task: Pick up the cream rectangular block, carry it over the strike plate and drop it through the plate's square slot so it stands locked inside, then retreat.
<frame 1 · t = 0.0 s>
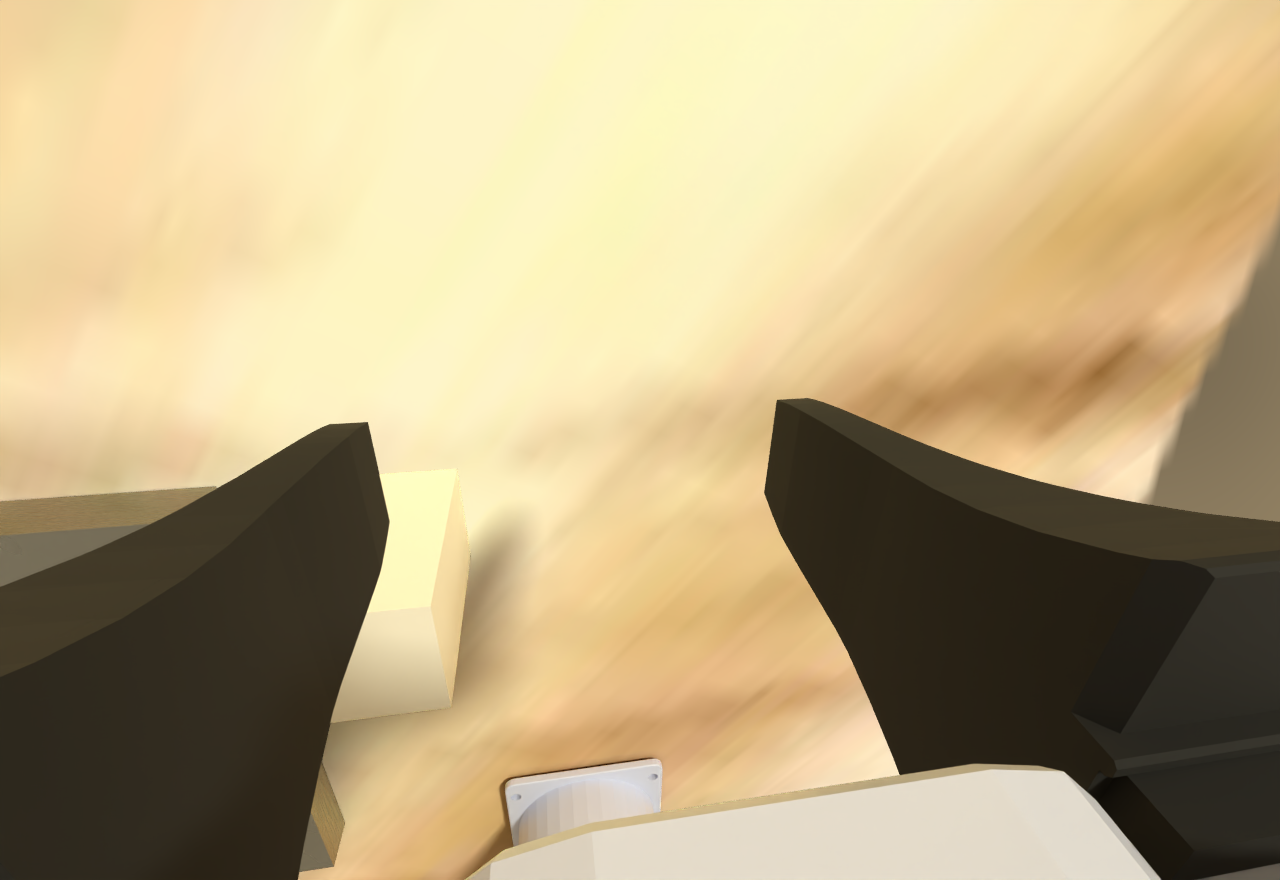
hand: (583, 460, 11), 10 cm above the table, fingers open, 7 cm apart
strike plate: (134, 704, 25), on the table
cream rectangular block: (409, 518, 23), on the table
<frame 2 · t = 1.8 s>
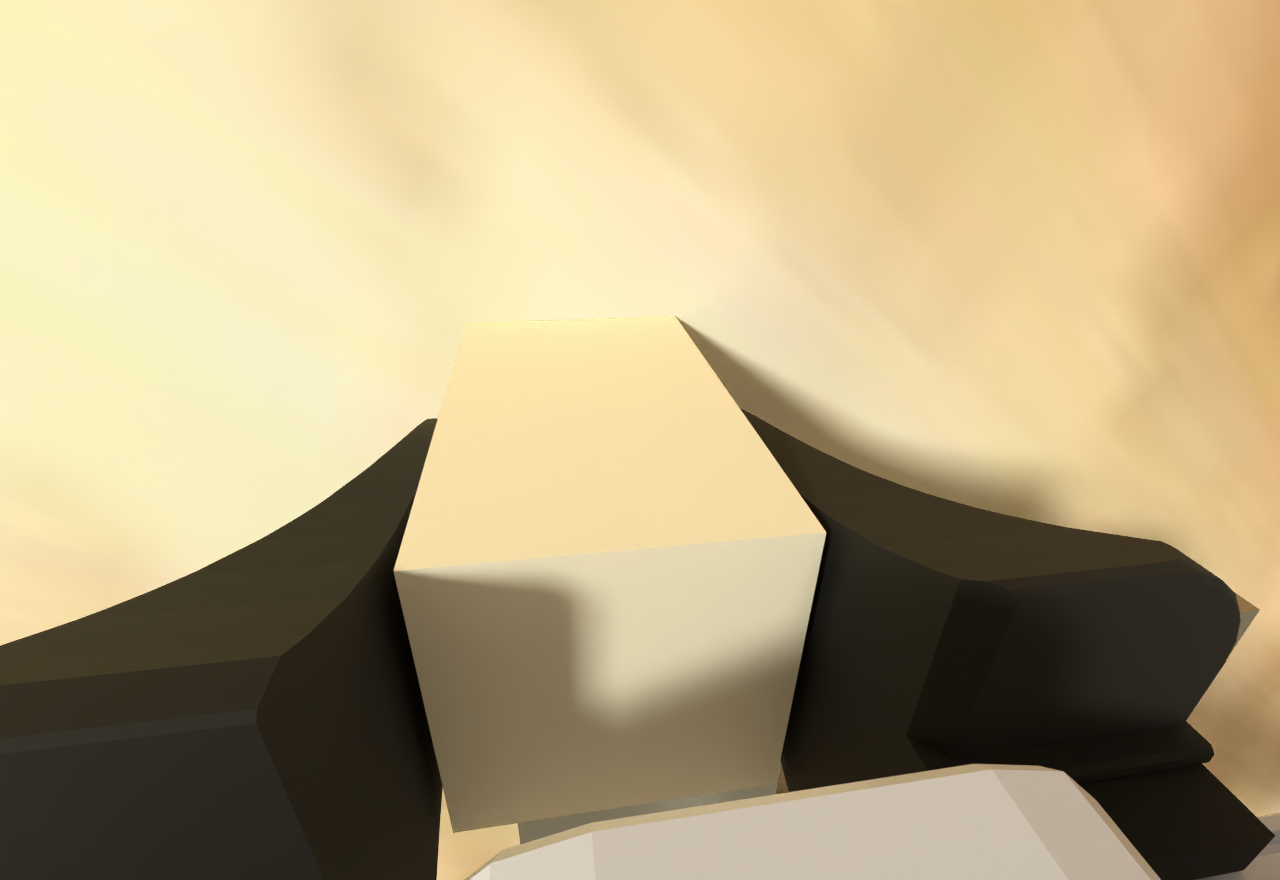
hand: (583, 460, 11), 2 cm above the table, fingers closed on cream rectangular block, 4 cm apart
strike plate: (839, 736, 20), on the table
cream rectangular block: (576, 413, 13), on the table, touching gripper
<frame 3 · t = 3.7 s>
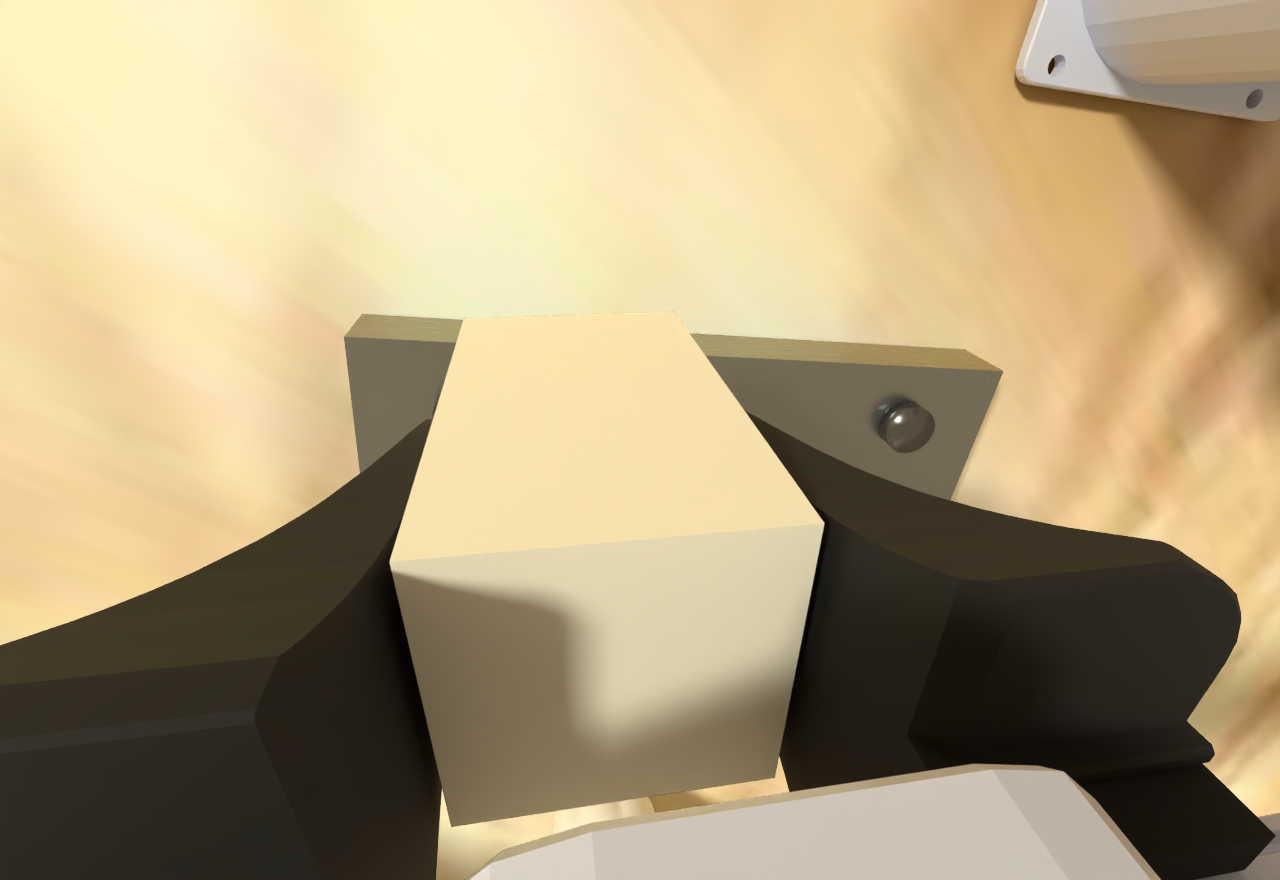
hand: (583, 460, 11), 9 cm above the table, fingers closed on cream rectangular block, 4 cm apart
binoculars: (713, 760, 31), on the table
strike plate: (668, 490, 22), on the table
cream rectangular block: (575, 409, 13), point 7 cm above the table, touching gripper
when the fingers open (3 cm above the table, at t = 5.6 s): cream rectangular block drops 1 cm, resting in strike plate.
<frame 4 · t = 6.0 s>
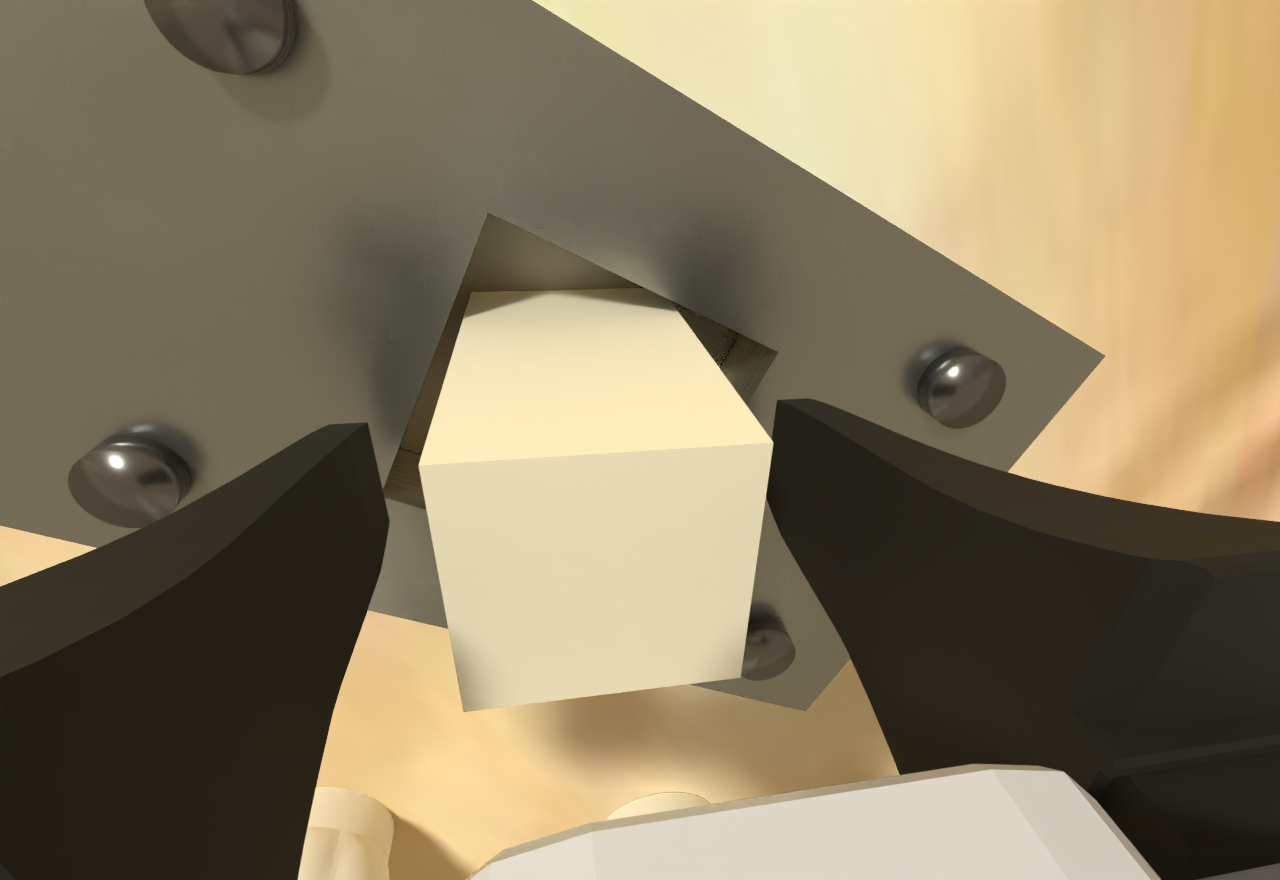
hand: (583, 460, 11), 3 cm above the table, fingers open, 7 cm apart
binoculars: (501, 823, 22), on the table
strike plate: (572, 385, 14), on the table
cream rectangular block: (571, 377, 14), resting in strike plate
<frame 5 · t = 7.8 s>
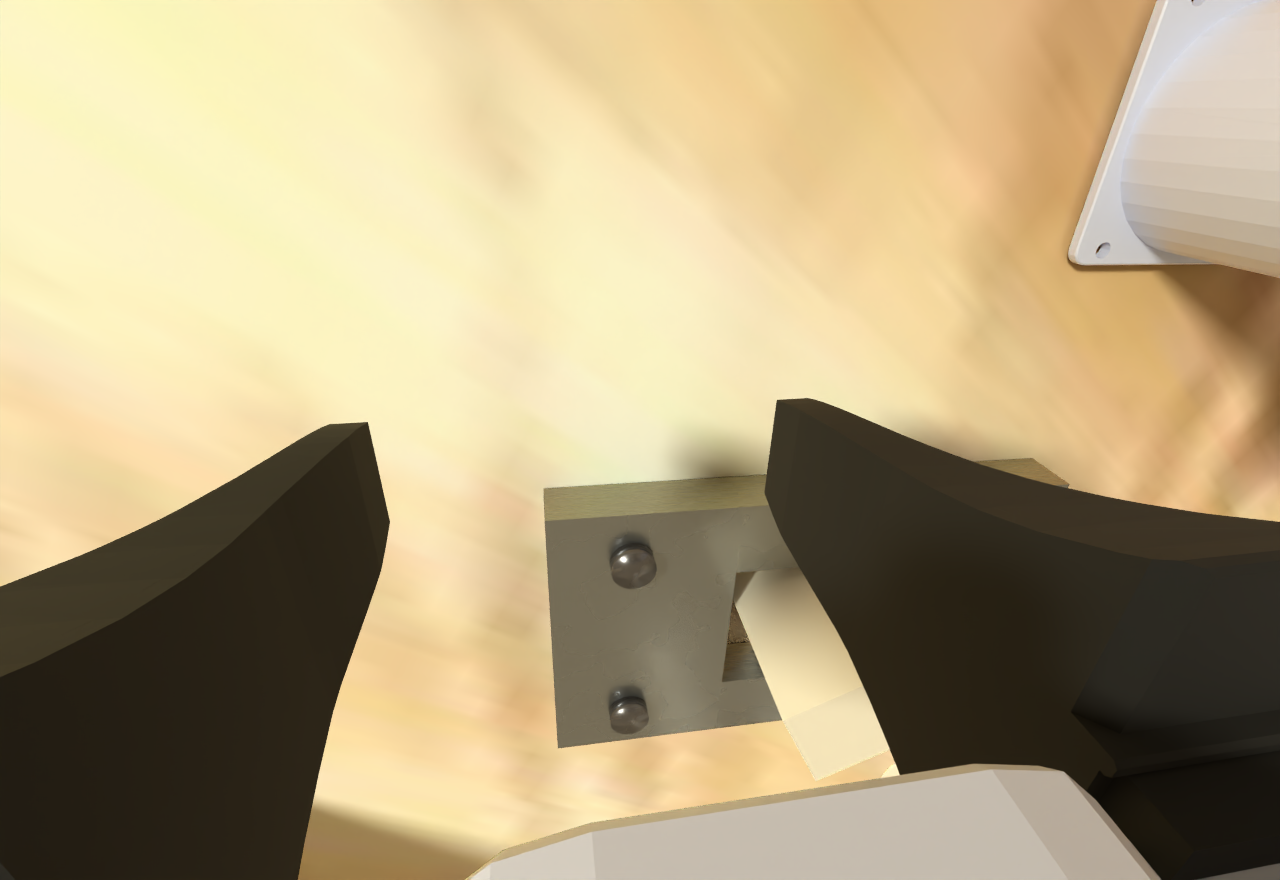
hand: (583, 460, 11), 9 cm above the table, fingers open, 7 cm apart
strike plate: (782, 589, 27), on the table
cream rectangular block: (780, 586, 27), resting in strike plate
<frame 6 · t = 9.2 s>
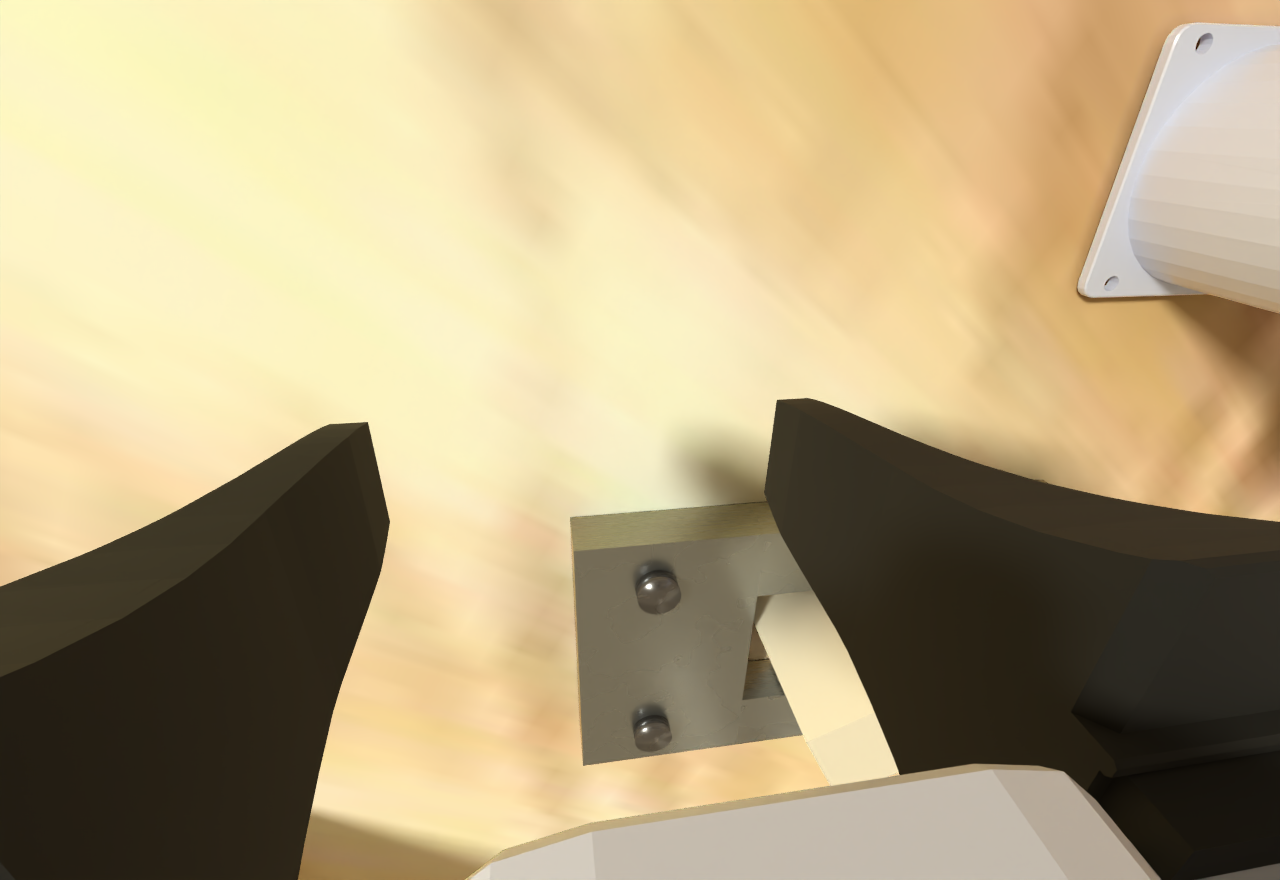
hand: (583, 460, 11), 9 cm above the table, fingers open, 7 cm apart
strike plate: (799, 609, 27), on the table
cream rectangular block: (797, 606, 27), resting in strike plate
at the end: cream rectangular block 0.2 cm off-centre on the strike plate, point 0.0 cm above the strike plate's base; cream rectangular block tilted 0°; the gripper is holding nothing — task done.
